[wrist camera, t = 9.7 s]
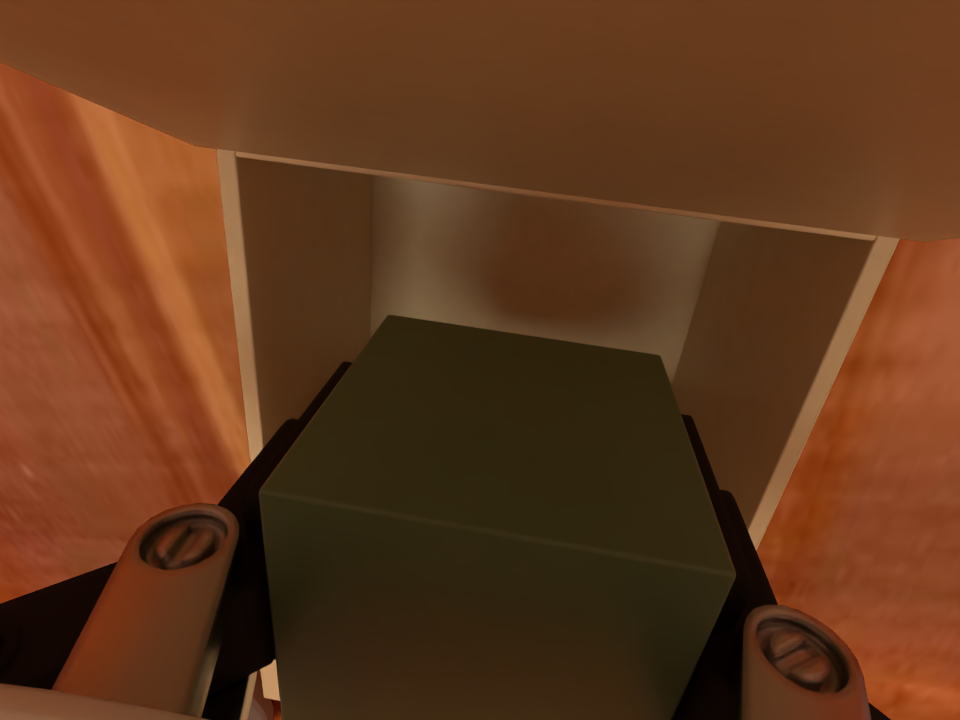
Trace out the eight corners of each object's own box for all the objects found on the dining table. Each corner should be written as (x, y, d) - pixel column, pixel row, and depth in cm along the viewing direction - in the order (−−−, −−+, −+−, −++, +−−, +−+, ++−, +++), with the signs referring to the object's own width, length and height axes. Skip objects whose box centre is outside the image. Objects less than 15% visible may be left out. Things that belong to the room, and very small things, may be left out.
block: (387, 312, 10) (255, 490, 6) (661, 353, 10) (739, 575, 6) (381, 517, 13) (283, 754, 8) (603, 556, 12) (626, 826, 8)
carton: (365, 106, 19) (188, 136, 10) (750, 154, 18) (935, 234, 9) (363, 489, 27) (261, 699, 18) (631, 535, 26) (668, 781, 17)
